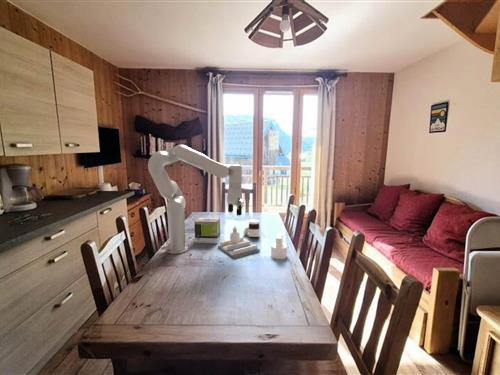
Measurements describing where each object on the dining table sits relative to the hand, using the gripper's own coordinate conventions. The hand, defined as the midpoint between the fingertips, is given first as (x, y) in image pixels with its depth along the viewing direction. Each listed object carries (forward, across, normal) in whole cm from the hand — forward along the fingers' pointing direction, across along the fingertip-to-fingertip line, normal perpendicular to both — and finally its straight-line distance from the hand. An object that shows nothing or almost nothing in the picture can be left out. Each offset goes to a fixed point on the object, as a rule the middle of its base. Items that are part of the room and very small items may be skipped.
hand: (234, 213), depth 156 cm
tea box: (+23, -20, -8) cm, 31 cm away
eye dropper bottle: (+20, 0, 0) cm, 21 cm away
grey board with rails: (+22, +4, +1) cm, 22 cm away
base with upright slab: (+22, +24, +16) cm, 36 cm away
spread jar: (+22, -11, +21) cm, 32 cm away
